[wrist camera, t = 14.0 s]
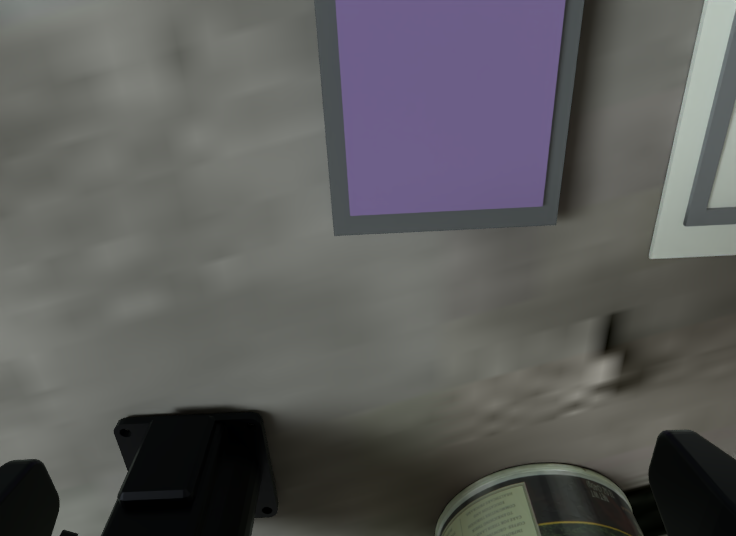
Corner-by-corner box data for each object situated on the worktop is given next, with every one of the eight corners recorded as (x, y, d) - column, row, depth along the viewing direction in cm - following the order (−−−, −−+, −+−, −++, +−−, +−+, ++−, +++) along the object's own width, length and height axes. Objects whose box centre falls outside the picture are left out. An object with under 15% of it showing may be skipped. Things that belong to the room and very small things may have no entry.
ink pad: (544, 208, 20) (557, 227, 19) (335, 219, 21) (334, 238, 19) (579, -107, 16) (601, -114, 14) (310, -92, 16) (305, -97, 14)
